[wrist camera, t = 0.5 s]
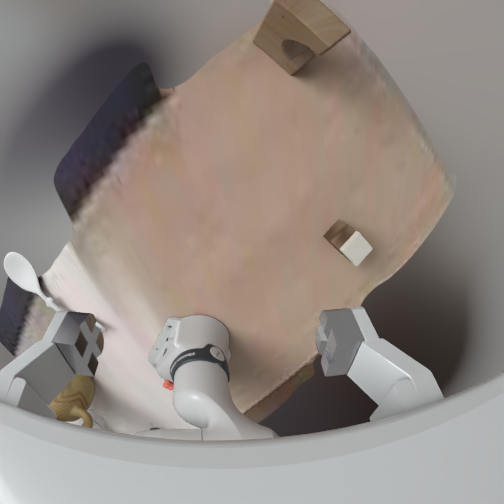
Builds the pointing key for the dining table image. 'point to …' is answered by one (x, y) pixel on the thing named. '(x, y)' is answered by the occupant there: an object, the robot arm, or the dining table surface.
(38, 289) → the white slender handled part
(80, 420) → the honey pot
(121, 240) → the dining table surface
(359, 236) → the walnut block
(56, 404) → the ceramic vessel
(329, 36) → the decorative block
